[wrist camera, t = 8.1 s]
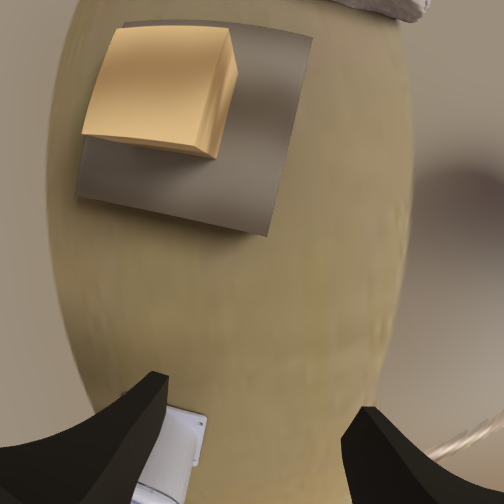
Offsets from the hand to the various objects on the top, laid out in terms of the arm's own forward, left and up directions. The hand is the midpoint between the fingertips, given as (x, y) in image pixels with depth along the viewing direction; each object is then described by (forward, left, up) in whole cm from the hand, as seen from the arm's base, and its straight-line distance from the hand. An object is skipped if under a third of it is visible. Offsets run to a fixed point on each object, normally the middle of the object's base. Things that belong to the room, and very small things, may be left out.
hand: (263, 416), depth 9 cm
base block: (+11, +7, -10) cm, 17 cm away
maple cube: (+11, +7, -7) cm, 15 cm away
